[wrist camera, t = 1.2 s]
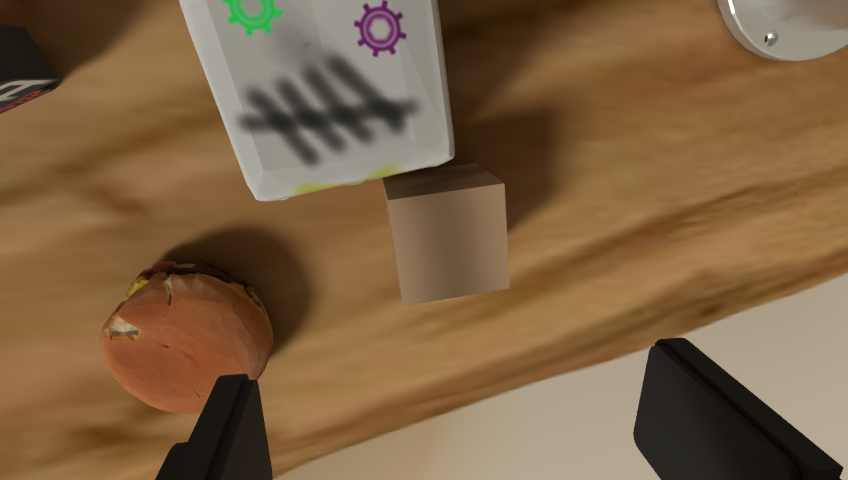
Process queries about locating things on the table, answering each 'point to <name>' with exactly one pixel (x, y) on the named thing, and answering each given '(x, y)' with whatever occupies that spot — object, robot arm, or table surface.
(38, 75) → the decorative emblem
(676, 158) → the table surface
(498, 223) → the light brown cube
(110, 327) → the burger
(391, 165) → the toy car
